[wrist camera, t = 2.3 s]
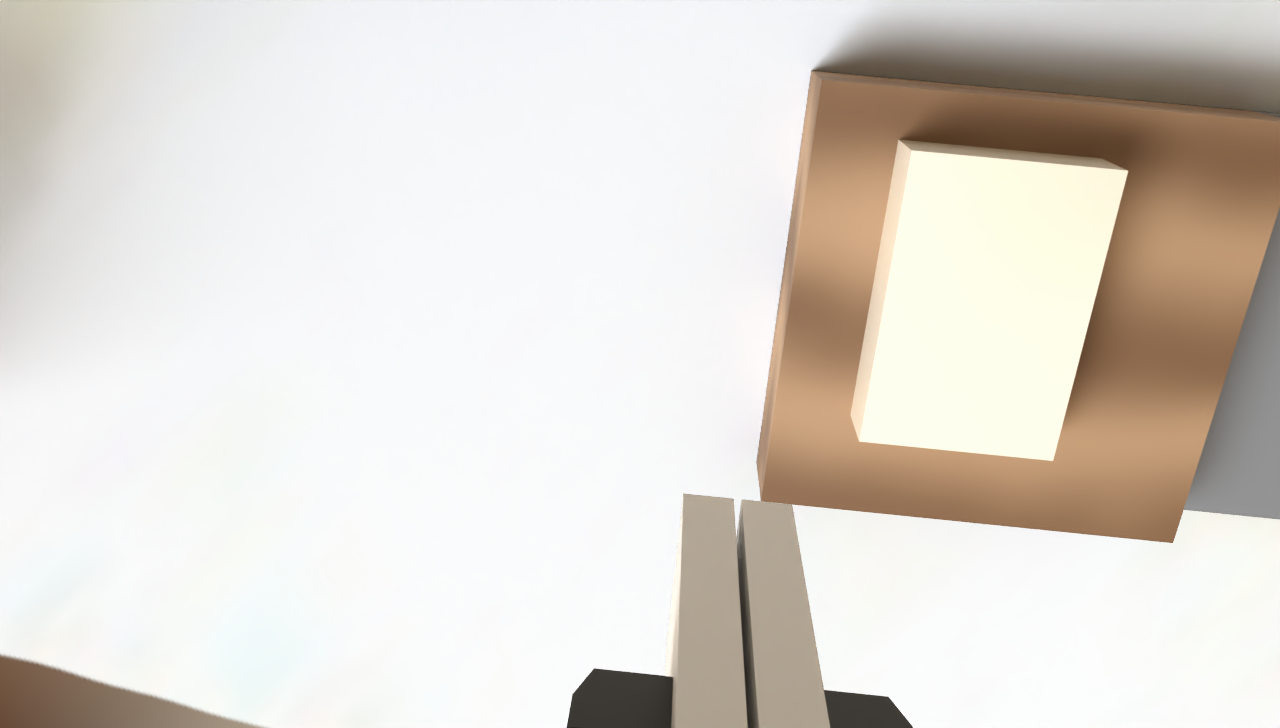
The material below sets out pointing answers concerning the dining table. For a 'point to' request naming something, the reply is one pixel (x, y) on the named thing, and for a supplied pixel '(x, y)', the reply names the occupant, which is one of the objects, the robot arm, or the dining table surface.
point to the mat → (1247, 410)
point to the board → (1117, 331)
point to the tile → (982, 297)
